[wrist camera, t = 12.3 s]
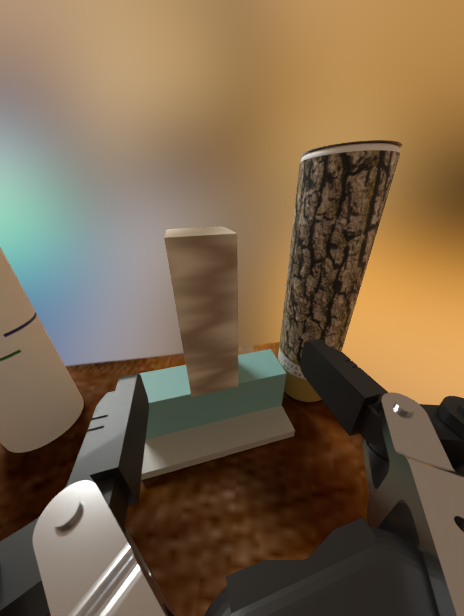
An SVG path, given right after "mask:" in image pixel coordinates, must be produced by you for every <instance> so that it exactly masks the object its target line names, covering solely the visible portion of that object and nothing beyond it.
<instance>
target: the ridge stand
mask: <svg viewBox="0 0 464 616" xmlns="http://www.w3.org/2000/svg"><path fill="white" fill-rule="evenodd" d="M140 375H141V378H142V381H143V384H144V387H145V390H146V393H147V396H148V401H149V415H148V423H147V432H146V441H145V449H144V458H143V467H142V475H141V480H144V479H148V478H151V477H155V476H158V475H161V474H165V473H168V472H172V471H175V470H179V469H182V468H186V467H189V466H193V465H196V464H199V463H203V462H206V461H210V460H213V459H217V458H220V457H224V456H227V455H230V454H234V453H237V452H241V451H244V450H248V449H251V448H255V447H258V446H262V445H265V444H268V443H272V442H275V441H279V440H282V439H286V438H289V437H293V436H294V433H295V429H294V427H293V425H292V424H291V422H290V420H289V418H288V416H287V414H286V412H285V410H284V408H283V407H282V400H283V393H284V386H285V379H286V372H285V370H284V369H283V367H282V366H281V364H280V363H279V361H278V360H277V358H276V357H275V355H274V354H273V352H272V351H271V349H268V350H263V351H258V352H252V353H247V354H242V355H238V387H233V388H229V389H224V390H220V391H215V392H211V393H206V394H202V395H197V396H193V397H191V392H190V386H189V380H188V374H187V368H186V365H183V366H177V367H172V368H167V369H161V370H156V371H151V372H145V373H140Z"/></svg>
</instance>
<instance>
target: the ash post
mask: <svg viewBox="0 0 464 616" xmlns="http://www.w3.org/2000/svg"><path fill="white" fill-rule="evenodd" d="M164 238H165V244H166V250H167V256H168V262H169V268H170V274H171V280H172V286H173V291H174V297H175V304H176V309H177V315H178V321H179V326H180V333H181V339H182V344H183V350H184V357H185V362H186V368H187V374H188V380H189V386H190V392H191V397H193V396H197V395H202V394H206V393H211V392H215V391H220V390H224V389H229V388H233V387H238V295H237V294H238V292H237V291H238V290H237V233H235V232H233V231H231V230H229V229H227V228H225V227H204V228H203V227H202V228H182V229H167V231H166V234H165V237H164Z"/></svg>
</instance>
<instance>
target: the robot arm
mask: <svg viewBox="0 0 464 616" xmlns="http://www.w3.org/2000/svg"><path fill="white" fill-rule="evenodd" d="M300 368H301V372H302V374H303V376H304V377H305V378H306V380H307V381H308V382H309V383H310V385H311V386H312V387H313V389H314V390H315V391H316V393H317V394H318V395H319V397H320V398H321V399H322V400H323V402H324V403H325V404H326V406H327V407H328V408H329V410H330V411H331V412H332V414H333V415H334V416H335V417H336V419H337V420H338V421H339V423H340V424H341V425H342V427H343V428H344V429H345V431H346V432H347V433H348V434H349V436H351V435H354V434H357V433H360V434H361V435H362V436H363V439H362V447H363V454H364V460H365V467H366V474H367V481H368V488H369V501H368V509H367V519H368V524H367V522H366V521H365V519H364V517H362V518H359V519H357V520H355V521H352V522H350V523H348V524H346V525H343V526H341V527H339V528H336V529H334V530H333V531H332V532H331V533H330V534H329V535H328V536H327V537H326V539H325V540H324V541H323V542H322V543H321V544H320V545H319V546H318V547H317V549H316V550H315V551H314V552H313V553H312V554H311V555H310V556H309V557H308V558H307V559H305V560H263V561H261V562H258V563H256V564H254V565H251V566H249V567H247V568H245V569H242V570H240V571H238V572H235V573H233V574H231V575H228V576H226V581H227V587H226V588H225V589H224V590H223V591H222V592H221V593H220V594H219V595H218V596H217V597H216V599H215V600H214V601H213V603H212V604H211V605H210V607H209V608H208V610H207V612H206V613H205V615H204V616H464V398H460V397H456V396H448V397H445V398H444V399H443V401H442V402H441V404H440V405H423V404H418V403H417V402H415V401H414V400H412V399H410V398H408V397H406V396H404V395H401V394H398V393H388V392H387V391H386V390H385V389H384V388H382V387H381V386H380V385H379V384H378V383H377V382H376V381H374V380H373V379H372V378H371V377H370V376H369V375H367V374H366V373H365V372H364V371H363V370H362V369H361V368H358V367H357V365H356V364H355V363H354V362H353V361H351V360H350V359H349V358H348V357H347V356H346V355H345V354H343V353H342V352H341V351H339V350H337V349H335V348H333V347H329V346H328V345H327V344H326V343H325V342H324V341H322V340H321V339H315V340H310V341H306V342H304V344H303V350H302V356H301V361H300ZM148 415H149V401H148V396H147V393H146V390H145V387H144V384H143V381H142V378H141V375H140V374H135V375H129V376H124V377H120V378H119V381H118V384H117V387H116V390H115V391H114V392H109V393H106V395H105V396H104V397H103V398H102V400H101V401H100V402H99V403H98V405H97V407H96V409H95V412H94V415H93V417H92V421H91V422H90V425H89V428H88V432H87V433H86V436H85V438H84V441H83V444H82V446H81V449H80V452H79V454H78V457H77V460H76V462H75V465H74V467H73V470H72V473H71V475H70V478H69V480H68V483H67V485H66V487H65V488H64V490H62V491H61V492H60V493H59V494H58V495H56V496H55V497H54V498H53V499H52V501H51V502H50V503H49V504H48V505H47V507H46V508H45V509H44V511H43V512H42V514H41V515H40V516H39V517H38V518H37V519H36V520H34V521H33V522H31V523H30V524H28V525H26V526H25V527H23V528H22V529H20V530H18V531H17V532H15V533H13V534H12V535H10V536H9V537H7V538H5V539H4V540H2V541H0V616H46V615H47V614H48V613H50V614H51V616H177V615H176V613H175V611H174V610H173V608H172V606H171V604H170V603H169V601H168V599H167V598H166V596H165V594H164V593H163V591H162V589H161V588H160V586H159V585H158V583H157V581H156V580H155V578H154V576H153V574H152V573H151V571H150V569H149V567H148V565H147V564H146V562H145V560H144V558H143V557H142V555H141V553H140V551H139V550H138V548H137V546H136V544H135V542H134V541H133V539H132V537H131V535H130V534H129V532H128V530H127V528H126V527H125V521H126V515H127V508H128V507H129V506H132V505H135V504H138V501H139V493H140V484H141V475H142V467H143V458H144V449H145V441H146V432H147V423H148Z"/></svg>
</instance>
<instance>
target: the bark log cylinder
mask: <svg viewBox="0 0 464 616" xmlns="http://www.w3.org/2000/svg"><path fill="white" fill-rule="evenodd" d="M401 146H402V144H401V143H399V142H395V141H383V140H382V141H381V140H380V141H379V140H377V141H360V142H359V141H358V142H349V143H342V144H335V145H329V146H324V147H320V148H316V149H313V150H310V151H307V152H305V153H303V154H302V155H301V157H302V160H301V162H300V169H299V177H298V186H297V195H296V204H295V213H294V222H293V231H292V240H291V248H290V257H289V266H288V275H287V284H286V293H285V302H284V311H283V320H282V328H281V338H280V346H279V355H278V361H279V363H280V364H281V366H282V367H283V369H284V370H285V372H286V379H285V386H284V392H285V393H286V394H287V395H289V396H290V397H292V398H294V399H296V400H299V401H302V402H316V401H319V400H322V399H321V398H320V397H319V395H318V394H317V393H316V391H315V390H314V389H313V387H312V386H311V385H310V383H309V382H308V381H307V380H306V378H305V377H304V376H303V374H302V372H301V368H300V361H301V356H302V350H303V344H304V342H306V341H310V340H315V339H321V340H322V341H324V342H325V343H326V344H327V345H328V346H329V347H333V348H335V349H337V350H339V351H342V347H343V344H344V341H345V337H346V334H347V331H348V327H349V324H350V321H351V317H352V314H353V310H354V307H355V304H356V300H357V297H358V294H359V290H360V287H361V284H362V280H363V277H364V273H365V270H366V267H367V263H368V260H369V257H370V253H371V250H372V246H373V243H374V240H375V236H376V233H377V230H378V226H379V223H380V219H381V216H382V213H383V209H384V206H385V203H386V199H387V196H388V193H389V189H390V186H391V182H392V179H393V176H394V172H395V169H396V166H397V162H398V159H399V156H400V147H401Z"/></svg>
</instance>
